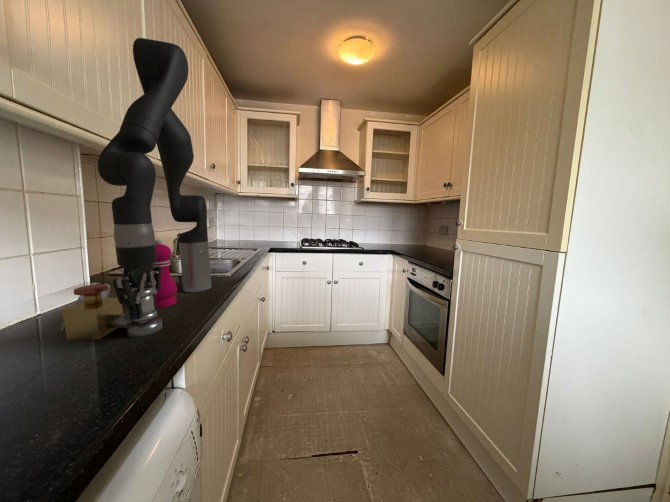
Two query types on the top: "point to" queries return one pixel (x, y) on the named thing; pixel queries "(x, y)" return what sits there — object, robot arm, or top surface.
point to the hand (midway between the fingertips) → (144, 313)
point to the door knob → (146, 304)
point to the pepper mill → (164, 277)
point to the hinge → (80, 299)
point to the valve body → (102, 317)
